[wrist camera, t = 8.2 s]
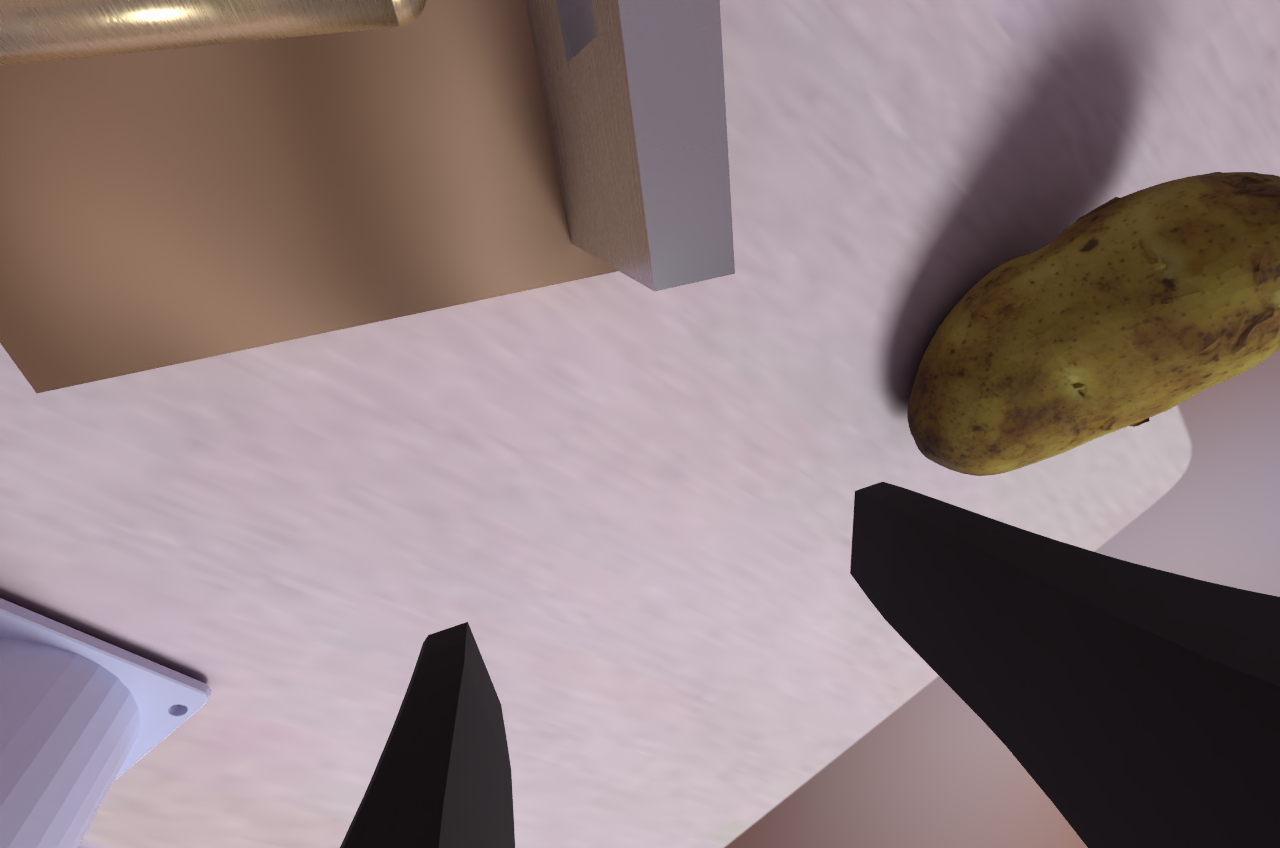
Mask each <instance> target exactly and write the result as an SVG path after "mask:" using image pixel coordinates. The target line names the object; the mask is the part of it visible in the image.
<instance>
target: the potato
mask: <svg viewBox="0 0 1280 848" xmlns="http://www.w3.org/2000/svg"><path fill="white" fill-rule="evenodd" d="M1278 349H1280V177H1279V176H1275V175H1267V174H1259V173H1254V172H1233V173H1221V172H1215V173H1210V174H1204V175H1197V176H1192V177H1186V178H1182V179H1177V180H1173V181H1169V182H1165V183H1161V184H1158V185H1155V186H1152V187H1149V188H1146V189H1143V190H1140V191H1137V192H1135V193H1132V194H1129V195H1127V196H1124V197H1122V198H1118V197H1115V198H1114V199H1112V200H1110V201H1108V202H1107V203H1105V204H1103V205H1101V206H1099V207H1098V208H1096V209H1094V210H1093V211H1091V212H1090V213H1088V214H1086V215H1084V216H1082V217H1080V218H1079V219H1078V220H1077V221H1076V222H1075V223H1074V224H1072V225H1071V226H1070V227H1068V228H1067V229H1066V230H1064V231H1063V232H1062V233H1061V234H1060V235H1059V236H1058V237H1057V238H1055V239H1054V240H1053V241H1052V242H1050V243H1049V244H1048V245H1046V246H1044V247H1042V248H1041V249H1039V250H1037V251H1034V252H1032V253H1029V254H1026V255H1023V256H1020V257H1017V258H1014V259H1012V260H1009V261H1007V262H1005V263H1003V264H1001V265H1000V266H998V267H996V268H995V269H993V270H992V271H991V272H989V273H988V274H987V275H986V276H984V277H983V278H982V279H981V280H980V281H979V282H978V283H977V284H975V285H974V286H973V287H972V288H971V289H970V290H969V291H968V292H967V293H966V294H965V295H964V296H963V298H962V299H961V300H960V301H959V302H958V303H957V304H956V305H955V306H954V307H953V309H952V310H951V311H950V312H949V314H948V315H947V316H946V318H945V319H944V321H943V322H942V323H941V325H940V326H939V327H938V329H937V331H936V332H935V334H934V336H933V338H932V339H931V341H930V343H929V345H928V347H927V349H926V351H925V353H924V355H923V357H922V360H921V363H920V365H919V369H918V372H917V375H916V378H915V382H914V385H913V388H912V392H911V396H910V400H909V404H908V423H909V428H910V431H911V434H912V436H913V438H914V440H915V443H916V445H917V447H918V449H919V450H920V451H921V453H922V454H923V455H924V456H925V457H927V458H928V459H930V460H932V461H933V462H935V463H937V464H939V465H941V466H944V467H946V468H948V469H951V470H954V471H957V472H960V473H963V474H969V475H976V476H985V475H995V474H1001V473H1005V472H1008V471H1011V470H1015V469H1018V468H1021V467H1024V466H1027V465H1030V464H1033V463H1036V462H1038V461H1041V460H1044V459H1047V458H1050V457H1052V456H1055V455H1058V454H1061V453H1063V452H1066V451H1068V450H1070V449H1073V448H1075V447H1077V446H1080V445H1082V444H1084V443H1086V442H1089V441H1091V440H1093V439H1095V438H1098V437H1100V436H1103V435H1105V434H1108V433H1111V432H1113V431H1116V430H1119V429H1122V428H1124V427H1127V426H1134V427H1135V426H1138V425H1141V424H1142V423H1145V422H1148V421H1149V418H1150V417H1152V416H1154V415H1156V414H1159V413H1162V412H1164V411H1167V410H1168V409H1170V408H1172V407H1174V406H1176V405H1178V404H1180V403H1182V402H1183V401H1185V400H1187V399H1188V398H1190V397H1192V396H1193V395H1195V394H1198V393H1200V392H1202V391H1203V390H1205V389H1206V388H1208V387H1211V386H1213V385H1216V384H1219V383H1221V382H1223V381H1226V380H1228V379H1230V378H1232V377H1234V376H1236V375H1239V374H1240V373H1243V372H1245V371H1247V370H1249V369H1251V368H1253V367H1254V366H1256V365H1257V364H1259V363H1261V362H1262V361H1263V360H1265V359H1266V358H1268V357H1269V356H1271V355H1272V354H1273V353H1275V352H1276V351H1277V350H1278Z"/></svg>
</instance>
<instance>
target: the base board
mask: <svg viewBox="0 0 1280 848" xmlns="http://www.w3.org/2000/svg"><path fill="white" fill-rule="evenodd" d="M616 271H618V270H617V269H615V268H613V267H611V266H610V265H608V264H606V263H604V262H603V261H601V260H599V259H597V258H596V257H594V256H592V255H590V254H589V253H587V252H585V251H583V250H582V249H580V248H578V247H576V246H575V245H573V244H571V239H570V233H569V228H568V223H567V217H566V212H565V207H564V202H563V196H562V191H561V186H560V181H559V175H558V170H557V165H556V160H555V154H554V149H553V144H552V139H551V133H550V128H549V123H548V118H547V112H546V107H545V102H544V97H543V91H542V86H541V81H540V76H539V70H538V65H537V60H536V55H535V49H534V44H533V39H532V33H531V28H530V23H529V18H528V12H527V7H526V2H525V0H427V2H426V5H425V8H424V10H423V12H422V13H421V15H420V16H419V18H417V19H416V20H415V21H414V22H413V23H411V24H409V25H406V26H402V27H393V28H382V29H372V30H362V31H352V32H341V33H331V34H321V35H310V36H300V37H290V38H280V39H269V40H259V41H249V42H239V43H228V44H218V45H208V46H198V47H187V48H177V49H167V50H156V51H146V52H136V53H126V54H115V55H105V56H95V57H85V58H74V59H64V60H54V61H43V62H33V63H23V64H13V65H2V66H0V343H1V344H2V346H3V347H4V349H5V350H6V351H7V353H8V354H9V356H10V357H11V358H12V360H13V361H14V362H15V364H16V365H17V367H18V368H19V369H20V371H21V372H22V373H23V375H24V376H25V378H26V379H27V380H28V382H29V383H30V385H31V386H32V387H33V389H34V390H35V391H36V393H40V392H45V391H50V390H55V389H59V388H64V387H69V386H74V385H78V384H83V383H88V382H93V381H97V380H102V379H107V378H112V377H116V376H121V375H126V374H131V373H135V372H140V371H145V370H150V369H154V368H159V367H164V366H169V365H173V364H178V363H183V362H188V361H192V360H197V359H202V358H207V357H211V356H216V355H221V354H226V353H231V352H235V351H240V350H245V349H250V348H254V347H259V346H264V345H269V344H273V343H278V342H283V341H288V340H292V339H297V338H302V337H307V336H311V335H316V334H321V333H326V332H330V331H335V330H340V329H345V328H349V327H354V326H359V325H364V324H368V323H373V322H378V321H383V320H387V319H392V318H397V317H402V316H406V315H411V314H416V313H421V312H426V311H430V310H435V309H440V308H445V307H449V306H454V305H459V304H464V303H468V302H473V301H478V300H483V299H487V298H492V297H497V296H502V295H506V294H511V293H516V292H521V291H525V290H530V289H535V288H540V287H544V286H549V285H554V284H559V283H563V282H568V281H573V280H578V279H582V278H587V277H592V276H597V275H601V274H606V273H611V272H616Z"/></svg>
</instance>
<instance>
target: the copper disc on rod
mask: <svg viewBox="0 0 1280 848" xmlns="http://www.w3.org/2000/svg"><path fill="white" fill-rule="evenodd" d="M426 2H427V0H0V66H2V65H13V64H23V63H33V62H43V61H54V60H64V59H74V58H85V57H95V56H105V55H115V54H126V53H136V52H146V51H156V50H167V49H177V48H187V47H198V46H208V45H218V44H228V43H239V42H249V41H259V40H269V39H280V38H290V37H300V36H310V35H321V34H331V33H341V32H352V31H362V30H372V29H382V28H393V27H402V26H406V25H409V24H411V23H413V22H414V21H415V20H416V19H417V18H419V16H420V15H421V13H422V12H423V10H424V8H425V5H426Z"/></svg>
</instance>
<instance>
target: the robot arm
mask: <svg viewBox="0 0 1280 848" xmlns="http://www.w3.org/2000/svg"><path fill="white" fill-rule="evenodd" d="M850 573H851V575H852V576H853V577H854V579H855V580H856V582H857V583H858V584H859V586H860V587H861V588H862V590H863V591H864V593H865V594H866V595H867V597H868V598H869V599H870V601H871V602H872V603H873V604H874V606H875V607H876V608H877V610H878V611H879V612H880V613H881V615H882V616H883V617H884V619H885V620H886V621H887V622H888V623H889V624H890V625H891V626H892V627H893V628H894V629H895V630H896V631H897V632H898V634H899V635H900V636H901V637H902V638H903V639H904V640H905V641H906V642H907V643H908V644H909V645H910V646H911V647H912V648H913V649H914V650H915V651H916V652H917V653H918V654H919V655H920V656H921V657H922V659H923V660H924V661H925V662H926V663H927V664H928V665H929V666H930V667H931V668H932V669H933V670H934V671H935V672H936V673H937V674H938V675H939V676H940V677H941V678H942V679H943V680H944V681H945V682H946V683H947V684H948V685H949V686H950V687H951V688H952V689H953V690H954V691H955V692H956V693H957V694H958V695H959V696H960V698H962V700H964V702H965V703H966V704H967V705H968V706H969V707H970V708H971V709H972V710H973V711H974V712H975V713H976V714H977V715H978V716H979V717H980V718H981V719H982V720H983V721H984V722H985V723H986V724H987V726H988V727H989V728H990V729H991V730H992V731H993V732H994V733H995V734H996V735H997V737H999V739H1000V740H1001V741H1002V742H1003V743H1004V744H1005V745H1006V746H1007V748H1008V749H1009V750H1010V751H1011V752H1012V754H1013V755H1014V756H1015V757H1016V758H1017V760H1018V761H1019V762H1020V763H1021V765H1022V766H1023V767H1024V768H1025V769H1026V771H1027V772H1028V773H1029V774H1030V776H1031V777H1032V778H1033V779H1034V780H1035V782H1036V783H1037V784H1038V785H1039V786H1040V788H1041V789H1042V790H1043V791H1044V792H1045V794H1046V795H1047V796H1048V797H1049V798H1050V799H1051V801H1052V802H1053V803H1054V805H1055V806H1056V807H1057V809H1058V810H1059V811H1060V812H1061V814H1062V815H1063V816H1064V817H1065V819H1066V820H1067V821H1068V823H1069V824H1070V825H1071V827H1072V828H1073V829H1074V830H1075V831H1076V833H1077V834H1078V835H1079V837H1080V838H1081V839H1082V840H1083V842H1084V843H1085V844H1086V846H1087V847H1088V848H1280V597H1277V596H1272V595H1267V594H1261V593H1256V592H1251V591H1246V590H1242V589H1237V588H1233V587H1228V586H1223V585H1219V584H1214V583H1210V582H1206V581H1201V580H1197V579H1193V578H1189V577H1185V576H1181V575H1177V574H1173V573H1169V572H1165V571H1161V570H1157V569H1153V568H1150V567H1146V566H1142V565H1138V564H1134V563H1130V562H1127V561H1123V560H1119V559H1116V558H1112V557H1109V556H1105V555H1102V554H1099V553H1096V552H1092V551H1089V550H1086V549H1082V548H1079V547H1076V546H1073V545H1069V544H1066V543H1063V542H1059V541H1056V540H1053V539H1050V538H1047V537H1044V536H1041V535H1038V534H1035V533H1032V532H1029V531H1026V530H1023V529H1020V528H1017V527H1014V526H1011V525H1008V524H1005V523H1002V522H999V521H996V520H994V519H991V518H988V517H985V516H982V515H979V514H976V513H974V512H971V511H968V510H965V509H962V508H960V507H957V506H954V505H951V504H948V503H945V502H943V501H940V500H937V499H934V498H931V497H928V496H925V495H923V494H920V493H917V492H914V491H911V490H908V489H905V488H902V487H898V486H895V485H892V484H888V483H885V482H881V483H878V484H875V485H872V486H869V487H866V488H863V489H860V490H857V491H855V502H854V519H853V537H852V554H851V572H850ZM210 694H211V689H210V687H209V686H208V685H206V684H205V683H203V682H200V681H198V680H196V679H193V678H191V677H188V676H186V675H184V674H181V673H179V672H176V671H174V670H172V669H169V668H167V667H165V666H162V665H160V664H157V663H155V662H153V661H150V660H148V659H145V658H143V657H141V656H138V655H136V654H133V653H131V652H129V651H126V650H124V649H121V648H119V647H117V646H114V645H112V644H109V643H107V642H105V641H102V640H100V639H97V638H95V637H93V636H90V635H88V634H85V633H83V632H81V631H78V630H76V629H73V628H71V627H69V626H66V625H64V624H61V623H59V622H57V621H54V620H52V619H49V618H47V617H45V616H42V615H40V614H37V613H35V612H33V611H30V610H28V609H25V608H23V607H21V606H18V605H16V604H13V603H11V602H9V601H6V600H4V599H1V598H0V848H77V847H78V845H79V843H80V841H81V840H82V838H83V836H84V834H85V832H86V830H87V829H88V827H89V825H90V823H91V821H92V820H93V818H94V816H95V814H96V812H97V810H98V809H99V807H100V805H101V803H102V801H103V799H104V798H105V796H106V794H107V792H108V790H109V788H110V787H111V785H112V783H113V782H114V781H115V780H116V779H117V778H119V777H120V776H121V775H122V774H123V773H125V772H126V771H127V770H128V769H129V768H130V767H132V766H133V765H134V764H135V763H136V762H138V761H139V760H140V759H141V758H142V757H143V756H145V755H146V754H147V753H148V752H149V751H151V750H152V749H153V748H154V747H155V746H157V745H158V744H159V743H160V742H161V741H162V740H164V739H165V738H166V737H167V736H168V735H170V734H171V733H172V732H173V731H174V730H175V729H177V728H178V727H179V726H180V725H181V724H183V723H184V722H185V721H186V720H187V719H189V718H190V717H191V716H192V715H193V714H194V713H196V712H197V711H198V710H199V709H200V708H202V707H203V706H204V705H205V704H206V702H207V701H208V698H209V696H210ZM178 704H180V705H184V706H179V705H178ZM340 848H515V838H514V818H513V799H512V780H511V767H510V760H509V753H508V747H507V740H506V733H505V727H504V721H503V715H502V708H501V704H500V701H499V699H498V696H497V694H496V691H495V689H494V686H493V684H492V681H491V679H490V676H489V674H488V671H487V669H486V666H485V664H484V661H483V659H482V656H481V654H480V651H479V649H478V647H477V644H476V642H475V639H474V637H473V634H472V632H471V629H470V627H469V624H468V622H466V623H463V624H460V625H457V626H454V627H451V628H449V629H446V630H443V631H440V632H437V633H434V634H431V635H428V637H427V638H426V640H425V641H424V643H423V646H422V649H421V652H420V655H419V658H418V661H417V663H416V666H415V669H414V672H413V675H412V678H411V681H410V683H409V686H408V689H407V692H406V694H405V697H404V700H403V702H402V705H401V707H400V710H399V713H398V715H397V718H396V721H395V723H394V726H393V728H392V731H391V733H390V735H389V738H388V740H387V743H386V745H385V748H384V750H383V752H382V755H381V757H380V760H379V762H378V764H377V767H376V769H375V772H374V774H373V776H372V779H371V781H370V784H369V786H368V788H367V790H366V793H365V795H364V797H363V799H362V802H361V804H360V806H359V808H358V810H357V812H356V814H355V817H354V819H353V821H352V823H351V825H350V827H349V829H348V832H347V834H346V836H345V838H344V840H343V842H342V845H341V847H340Z"/></svg>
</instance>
